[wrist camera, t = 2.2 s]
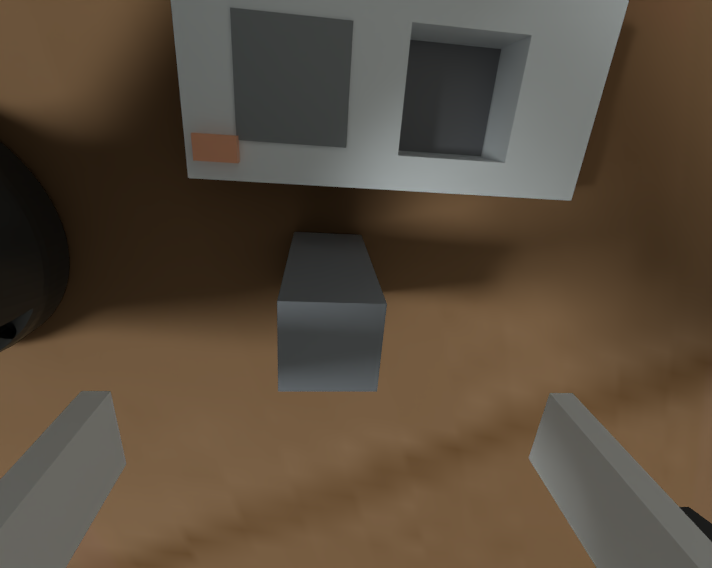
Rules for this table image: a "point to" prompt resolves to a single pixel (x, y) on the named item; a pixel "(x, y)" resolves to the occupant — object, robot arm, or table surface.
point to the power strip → (394, 92)
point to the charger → (329, 315)
